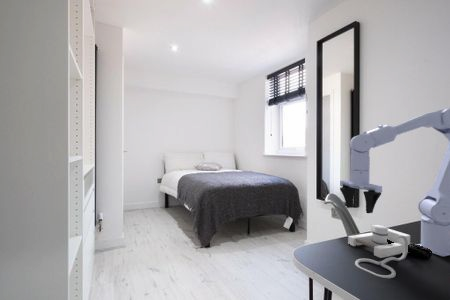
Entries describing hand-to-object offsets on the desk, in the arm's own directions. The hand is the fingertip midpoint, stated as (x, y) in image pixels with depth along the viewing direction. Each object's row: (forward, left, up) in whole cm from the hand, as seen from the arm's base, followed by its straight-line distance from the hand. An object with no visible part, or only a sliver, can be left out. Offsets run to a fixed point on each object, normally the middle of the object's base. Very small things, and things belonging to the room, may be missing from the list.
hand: (359, 210), depth 82 cm
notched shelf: (0, +7, -10) cm, 12 cm away
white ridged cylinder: (-1, +7, -10) cm, 12 cm away
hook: (+7, +15, -11) cm, 20 cm away
